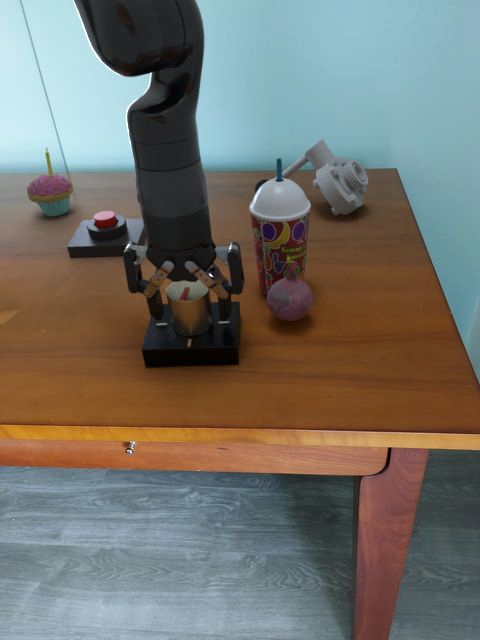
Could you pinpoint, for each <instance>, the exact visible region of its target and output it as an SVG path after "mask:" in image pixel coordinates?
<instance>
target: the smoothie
mask: <svg viewBox="0 0 480 640" xmlns="http://www.w3.org/2000/svg"><path fill="white" fill-rule="evenodd" d="M282 160H283V159H282V158H280V157H279V158H276V177H277V178H275V177H274V178H275V179H274V178H272V179H268V180H269V181H267V182H265V183H264V184H263V185H262V186H261V187H260V188H259V189H258V190H257V192H256V194H255V193H254V196H253V199H252V200H251V201H250V203H249V206H248V208H249V213H250V221H251V230H252V238H253V246H254V254H255V261H256V263H255V264H256V270H257V271H256V272H257V279H258V285H259V288H261V290H262V291H263V294H264V295H265V296H266V297H267V296H268V292H269V289H270V288H271V286H272V285H273V284H274V283H275V282H277V281H279V280H281V279H283V278H285V277H287V275H288V267H287V265H288V263H287V260H286V259H287V257H290V258H291V260H292V262H293V260H294V264H295V270H296V278H298V279H300V280H302V281H303V282H305V274H306V261H307V250H308V240H309V239H308V238H309V228H310V216H311V208H312V204H311V202H310V200H309V199H308V198H307V196H306V194H305V191H304V190H303V189H302V187H301V186H300V185H299V184H298V183H297V182H295V181H294V180H292V179H289V178H287V179H285V178H282V172H283V163H282V162H283V161H282Z"/></svg>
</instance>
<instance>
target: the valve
mask: <svg viewBox="0 0 480 640" xmlns="http://www.w3.org/2000/svg"><path fill="white" fill-rule="evenodd" d="M303 153H304V154H303V155H302V156H300V157H299V158H297V159H296V160H295V161H294V162H292V164H290V165H289V166H288V167H287V168H285V169H284V170H282V178H285V179H289V177H290V176H292V175H293V174H294V173H295V172H297V171H298V170H300V169H301V168H302V167H303V166H305V165H306V164H307V163H310V164H311V166H312V167H313V169H314V170H315V177H316V178H315V179H314V180H313V181H312V184H313V186H314V188H316V189H317V190H320V192H321V194H322V195H323V197H324V199H325V200H326V201H327V203H328V204H329V206H330V207H331V212H332V214H333V215H334V216H338V215H340V214H342V215H346V216H347V215H349V214H351V213H353V212H354V211H355V210H357V209H358V208H360V207H361V206H362V205H363V204H364V199H365V197H364V194H365V193H367V189H366V187H367V185H368V184H369V177H368V175H367V172H366V170H365V168H364V167H363V166H362V165H361V164H360V162H358V161H357V160H355V159H352V160H350V161H348V159H347V158H346V157H345V156H342V157H341V158H339V157H337V156H335V155H334V153H333V152H332V151H331V149H330V148H329V146H328V144H327V143H326V141H325V140H324V139H323V138H322V139H321V138H320V139H319V140H318V141H317V142H316V143H314V144H313V145H312V146H311V147H309V148H308V149H307V150H306V151H304V152H303ZM275 178H277V176H276V177H274V178H273V179H275ZM269 180H270V179H266V178H263V179H261V180H259V181H258V182H257V183H256V184H255V187H254V195H255V194H256V192H257V190H258V189H259V188H260V187H261V186H262V185H263V184H264V183H265V182H267V181H269Z"/></svg>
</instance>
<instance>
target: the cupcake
mask: <svg viewBox="0 0 480 640" xmlns="http://www.w3.org/2000/svg"><path fill="white" fill-rule="evenodd" d="M45 150H46V151H45V152H44V153H45V160H46V166H47V171H48V174H42V175H39V176H38V177H36V178H35V179H34V180H33V181H31V182H30V183H29V185H28V187H27V189H26V191H27V198H28V199H29V200H30V201H31V202H33V203H35V204H37V205H38V206H39V208H40V209H41V210H42V212H43V213H44V215H45V216H48V217H59V216H63V215H64V214H66V213H68V211H69V210H70V198H71V195H72V193H73V192H74V187H73V184H72V181H71V180H70V179H68V178H67V177H65V176H63V175H60V174H56V173H55V174H54V173H53V169H52V168H53V167H52V163H51V157H50V152H49V151H48V146H47V147H45Z"/></svg>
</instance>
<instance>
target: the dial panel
mask: <svg viewBox="0 0 480 640" xmlns="http://www.w3.org/2000/svg"><path fill="white" fill-rule="evenodd" d="M163 307H164V315H163V317H162V320H161V321H156V320H155V317H153V316H151V315H150V317H149V321H148V323H147V324H148V325H147V328H146V332H145V335H144V338H143V343H142V346H141V354H142V358H143V363H144V367H145V368H171V367H206V366H208V367H209V366H238V365H239V362H240V345H241V344H240V341H241V323H242V315H241V314H242V313H241V303H240V301H239V300H238V301H237V300H236V301H232V311H231V315H230V318H228V317H227V320H226V322H224V321H220V314H219V305H218V301H211V307H212V315H213V325H212V327H211V329H210V330H208V331H207V332H205V333H203V334H201V335H197V336H183V335H180V334H178V333H176V332H175V331H174V330H173V327H172V322H171V316H170V311H169V306H168V303H163Z"/></svg>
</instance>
